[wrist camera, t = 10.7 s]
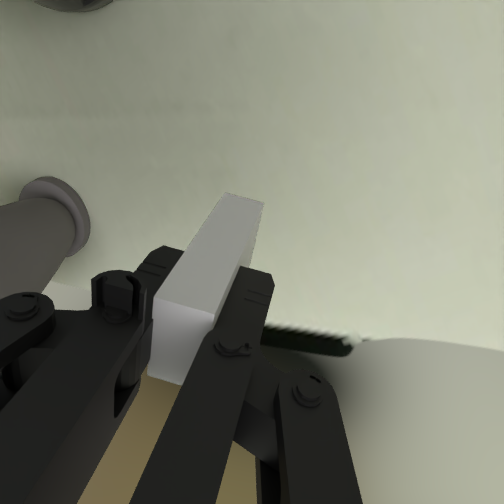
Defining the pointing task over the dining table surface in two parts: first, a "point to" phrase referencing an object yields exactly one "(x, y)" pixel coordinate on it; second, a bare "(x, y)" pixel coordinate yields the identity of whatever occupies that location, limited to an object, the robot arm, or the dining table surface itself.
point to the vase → (39, 234)
